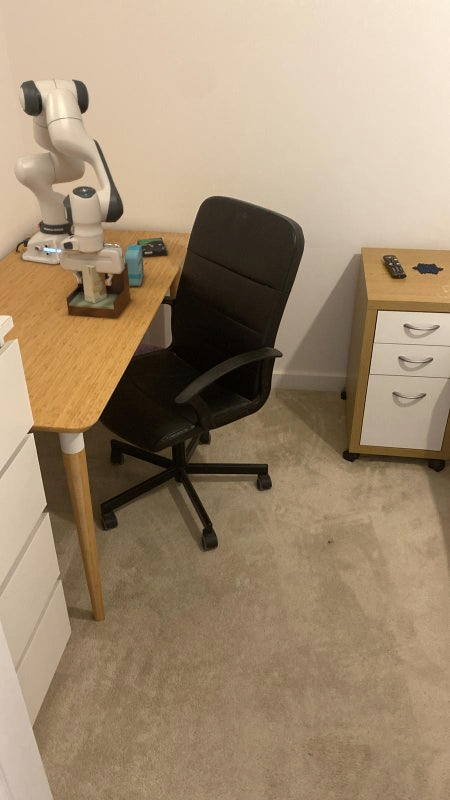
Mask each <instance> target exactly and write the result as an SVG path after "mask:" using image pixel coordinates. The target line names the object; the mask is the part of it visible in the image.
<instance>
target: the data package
mask: <svg viewBox="0 0 450 800" xmlns="http://www.w3.org/2000/svg"><path fill="white" fill-rule="evenodd" d="M125 262H127V265H128V277H129V287H135V288H136V287H139V288H140V287H141V285H142V282H143V279H144V276H145V275H144V274H145V270H144V269H145V268H144V257H143V254H142V246H141V245H138V244H129V245H128V246H127V249H126V251H125V253H124V263H125Z"/></svg>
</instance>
